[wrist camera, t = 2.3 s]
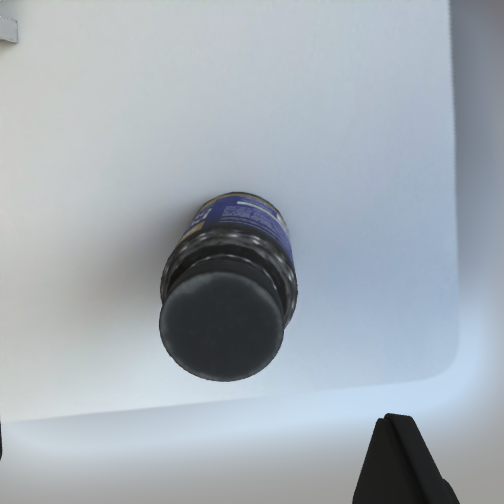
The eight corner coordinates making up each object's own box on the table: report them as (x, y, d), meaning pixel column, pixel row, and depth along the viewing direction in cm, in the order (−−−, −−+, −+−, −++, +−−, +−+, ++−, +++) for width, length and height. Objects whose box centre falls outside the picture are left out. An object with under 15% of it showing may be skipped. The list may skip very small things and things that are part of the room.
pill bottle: (201, 179, 24) (153, 231, 14) (301, 204, 25) (326, 273, 14) (182, 272, 26) (127, 379, 16) (274, 295, 27) (279, 413, 16)
